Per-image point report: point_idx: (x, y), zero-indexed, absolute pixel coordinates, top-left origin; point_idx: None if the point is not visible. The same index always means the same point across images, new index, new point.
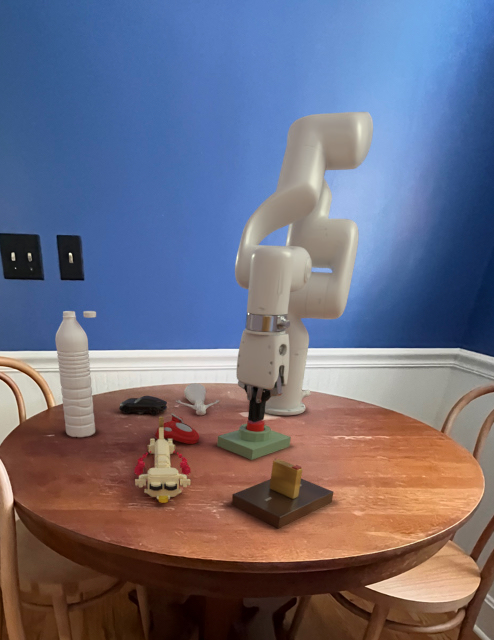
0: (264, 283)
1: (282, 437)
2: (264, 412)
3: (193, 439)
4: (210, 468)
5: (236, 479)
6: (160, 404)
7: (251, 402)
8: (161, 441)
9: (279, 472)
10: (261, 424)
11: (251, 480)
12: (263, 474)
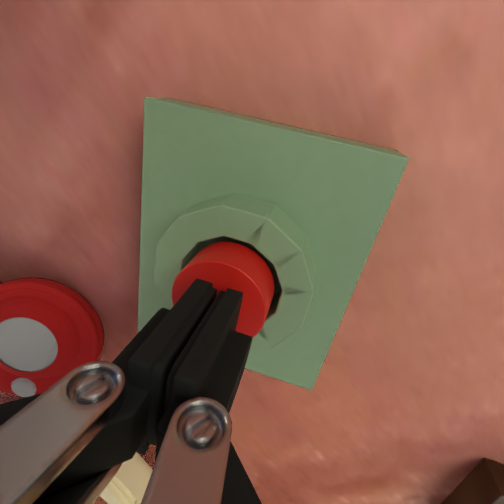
0: None
1: (366, 200)
2: (246, 352)
3: (94, 347)
4: (248, 441)
5: (340, 472)
6: None
7: (146, 447)
8: (107, 496)
9: None
10: (263, 324)
11: (379, 467)
12: (396, 431)
